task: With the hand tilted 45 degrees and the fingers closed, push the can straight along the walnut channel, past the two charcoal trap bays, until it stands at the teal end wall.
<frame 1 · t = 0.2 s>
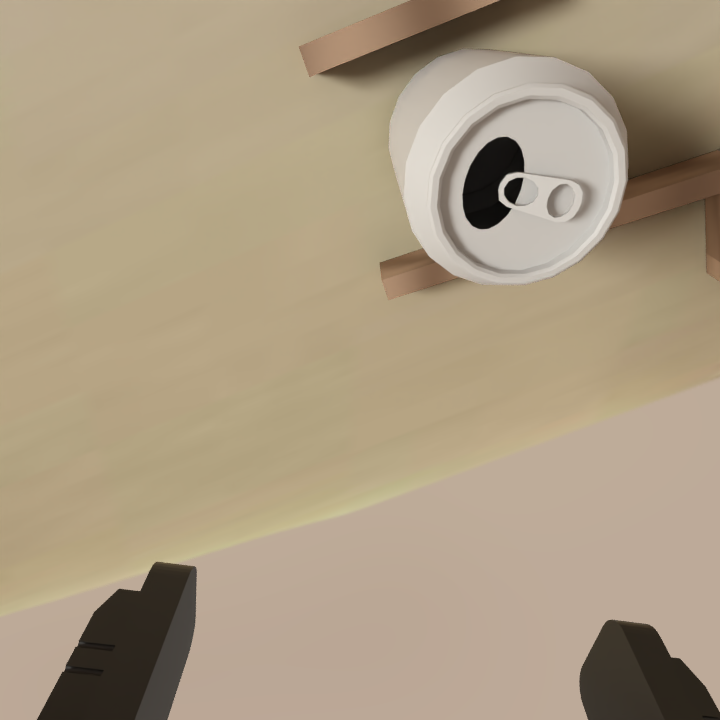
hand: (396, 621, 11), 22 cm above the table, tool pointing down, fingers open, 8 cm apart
can: (461, 133, 27), on the table
trap channel: (692, 50, 25), on the table
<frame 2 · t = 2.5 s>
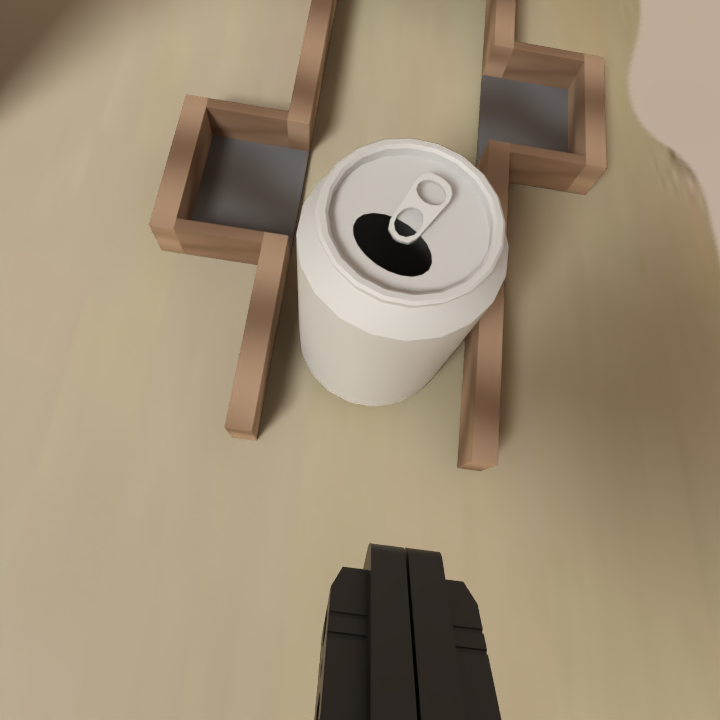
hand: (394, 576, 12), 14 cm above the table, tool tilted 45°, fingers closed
can: (370, 342, 29), on the table
trap channel: (392, 168, 32), on the table
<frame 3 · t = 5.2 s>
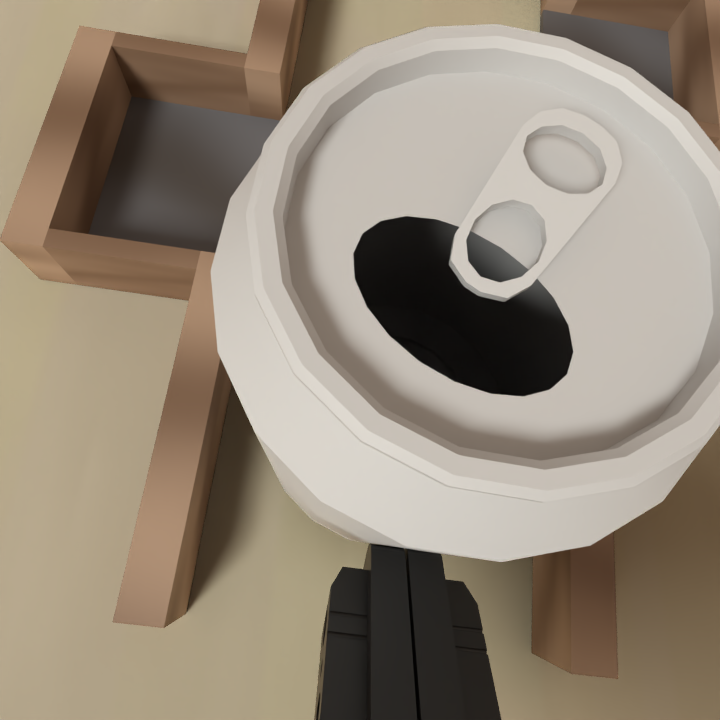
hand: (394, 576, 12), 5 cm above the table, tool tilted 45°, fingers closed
can: (382, 424, 18), on the table, touching gripper
trap channel: (412, 147, 21), on the table
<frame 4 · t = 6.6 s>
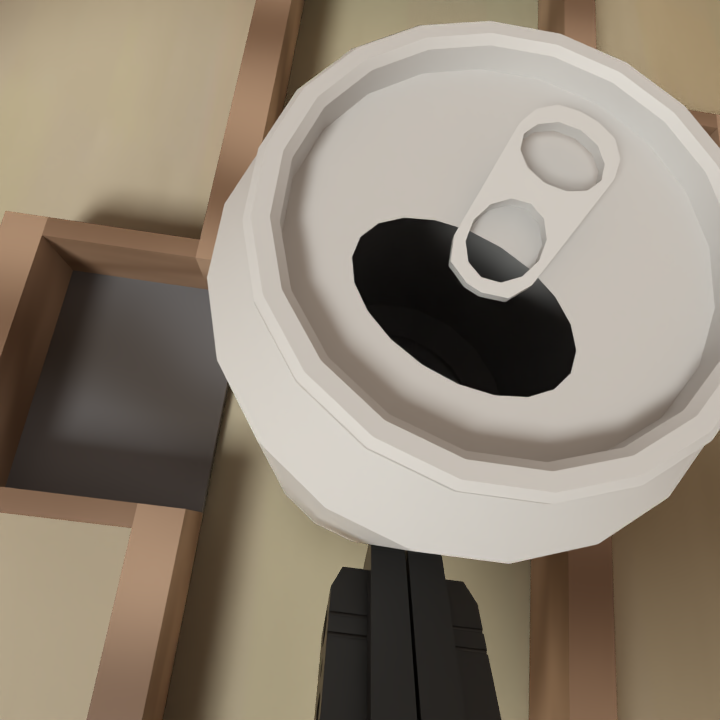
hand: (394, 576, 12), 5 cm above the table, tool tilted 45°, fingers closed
can: (381, 423, 18), on the table, touching gripper
trap channel: (391, 319, 19), on the table
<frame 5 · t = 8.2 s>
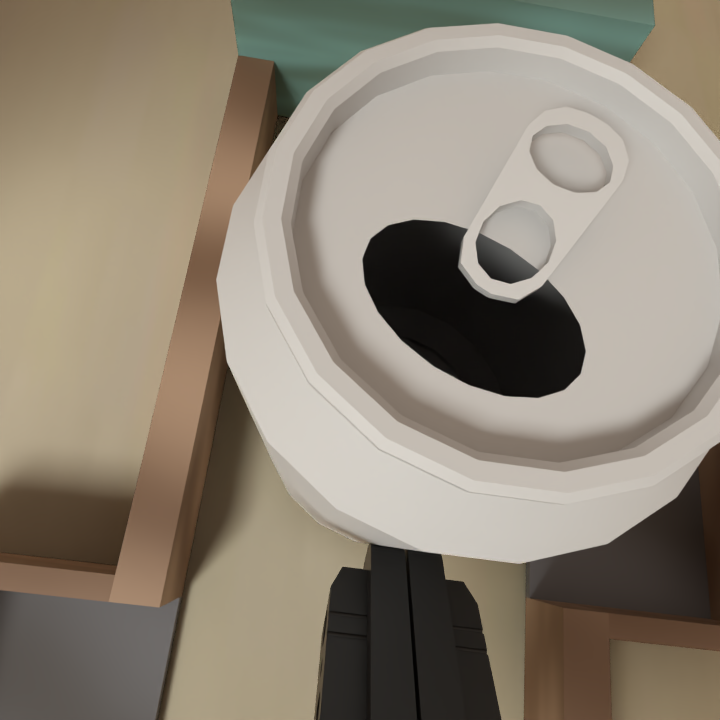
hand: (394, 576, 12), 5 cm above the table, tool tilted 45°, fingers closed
can: (384, 424, 18), on the table, touching gripper
trap channel: (356, 615, 16), on the table
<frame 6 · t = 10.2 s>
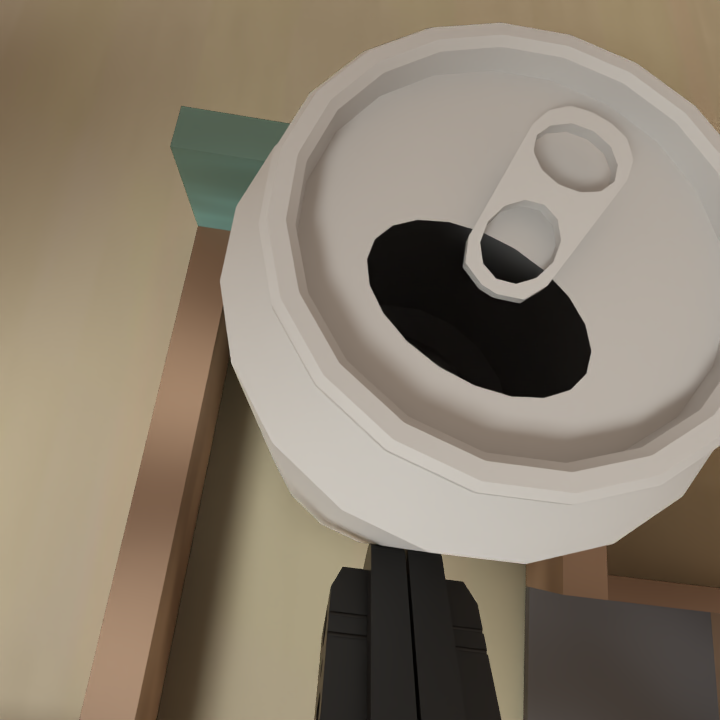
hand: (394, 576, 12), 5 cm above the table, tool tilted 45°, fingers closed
can: (385, 424, 18), on the table, touching gripper
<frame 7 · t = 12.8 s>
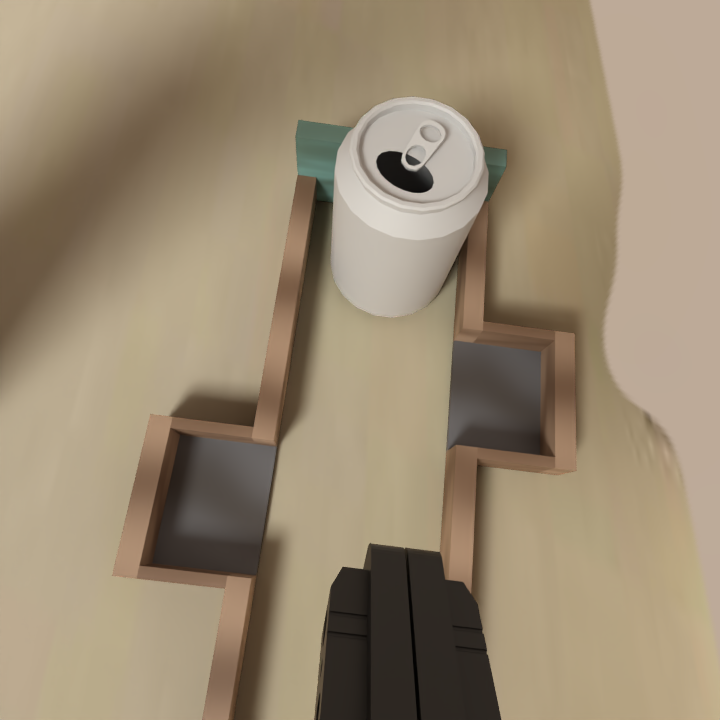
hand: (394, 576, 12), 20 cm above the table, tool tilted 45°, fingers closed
can: (386, 271, 36), on the table
trap channel: (361, 457, 32), on the table
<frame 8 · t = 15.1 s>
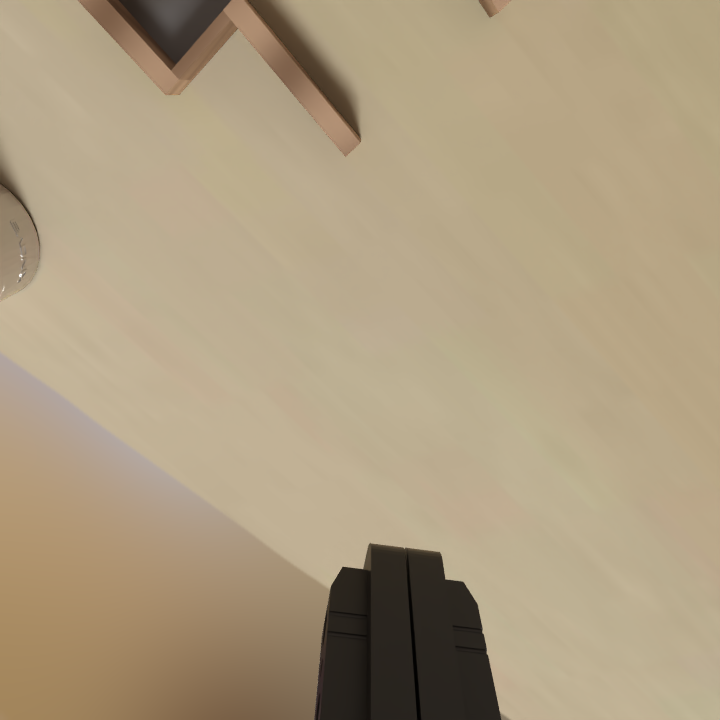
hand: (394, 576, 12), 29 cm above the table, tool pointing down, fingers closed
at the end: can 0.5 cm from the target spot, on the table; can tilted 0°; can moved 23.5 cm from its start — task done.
